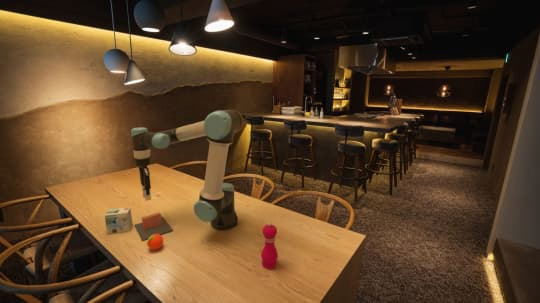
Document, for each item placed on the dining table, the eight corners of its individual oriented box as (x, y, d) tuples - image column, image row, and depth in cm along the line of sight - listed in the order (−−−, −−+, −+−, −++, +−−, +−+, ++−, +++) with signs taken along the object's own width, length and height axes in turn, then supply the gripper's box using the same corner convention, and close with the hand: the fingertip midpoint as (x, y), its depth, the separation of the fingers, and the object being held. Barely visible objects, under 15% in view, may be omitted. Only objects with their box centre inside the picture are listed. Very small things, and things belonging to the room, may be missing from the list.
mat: (173, 231, 130) (173, 230, 130) (142, 241, 121) (141, 240, 121) (163, 217, 144) (163, 216, 144) (134, 225, 135) (134, 224, 135)
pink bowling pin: (277, 258, 110) (278, 217, 105) (278, 269, 103) (279, 227, 98) (260, 258, 110) (261, 217, 105) (260, 270, 103) (261, 227, 98)
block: (161, 224, 135) (160, 214, 133) (143, 230, 130) (142, 219, 128) (160, 223, 137) (159, 212, 135) (142, 228, 131) (141, 217, 130)
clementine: (152, 255, 111) (150, 241, 109) (142, 251, 114) (140, 237, 112) (167, 246, 118) (165, 233, 116) (157, 242, 121) (156, 229, 119)
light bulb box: (106, 234, 127) (103, 215, 124) (111, 227, 133) (108, 209, 130) (129, 231, 130) (127, 212, 127) (133, 224, 136) (130, 207, 133)
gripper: (154, 159, 125) (158, 202, 131) (146, 152, 138) (150, 191, 144) (138, 162, 120) (143, 206, 126) (131, 154, 133) (136, 195, 139)
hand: (147, 198), depth 135 cm, fingers open, 4 cm apart
